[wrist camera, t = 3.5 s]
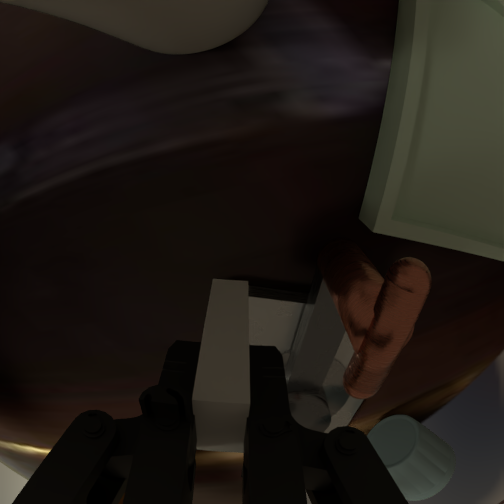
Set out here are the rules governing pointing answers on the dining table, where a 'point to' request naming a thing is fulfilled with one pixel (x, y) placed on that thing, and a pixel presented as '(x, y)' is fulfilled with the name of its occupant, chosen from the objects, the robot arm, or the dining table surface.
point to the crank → (352, 326)
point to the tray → (443, 129)
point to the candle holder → (158, 20)
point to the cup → (413, 456)
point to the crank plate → (283, 335)
